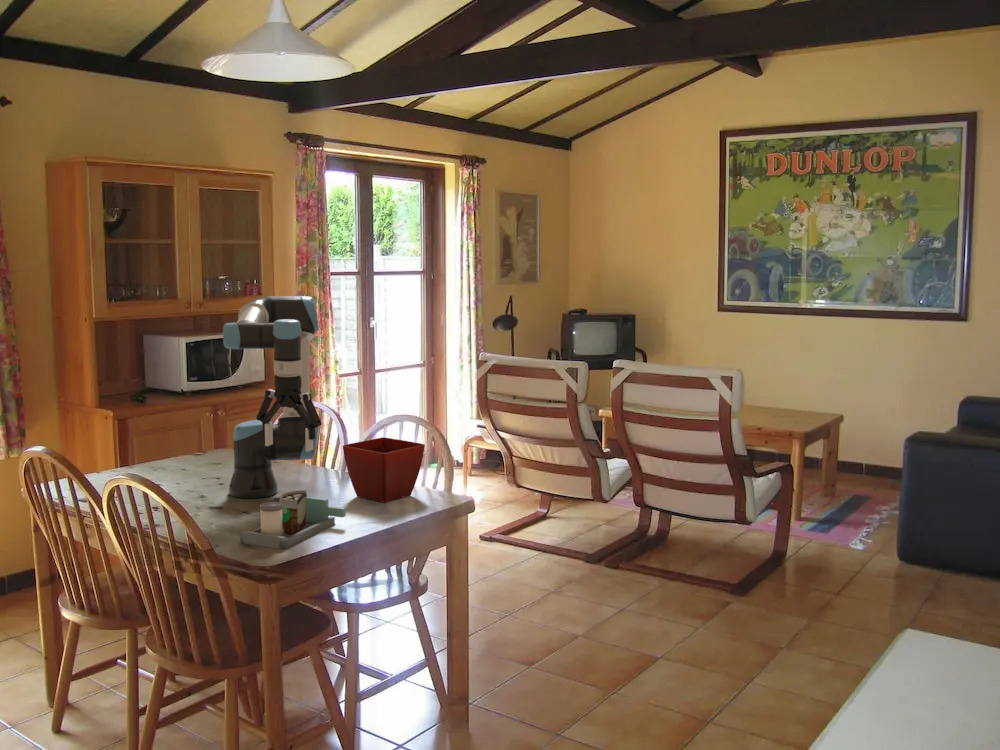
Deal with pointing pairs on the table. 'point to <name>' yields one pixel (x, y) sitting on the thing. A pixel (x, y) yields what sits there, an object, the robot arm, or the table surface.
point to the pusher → (321, 510)
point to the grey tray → (284, 535)
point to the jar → (271, 518)
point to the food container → (294, 511)
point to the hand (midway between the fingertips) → (289, 447)
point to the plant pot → (383, 467)
